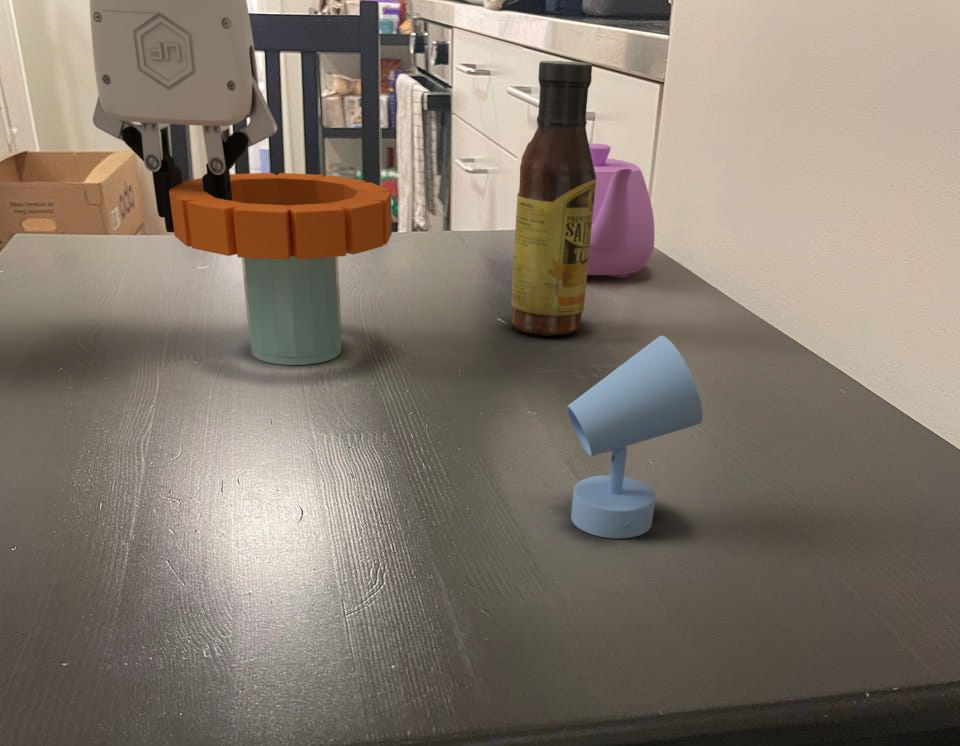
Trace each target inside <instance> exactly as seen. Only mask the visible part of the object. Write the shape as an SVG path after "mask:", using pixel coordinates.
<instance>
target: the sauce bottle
mask: <svg viewBox="0 0 960 746" xmlns="http://www.w3.org/2000/svg"><path fill="white" fill-rule="evenodd" d="M592 73H593V64H592V63H589V62H581V61H563V60H541V61H539V63H538V85H539V100H538V101H539V102H538V114H537V117H536V124H537V128H536V130H535V132H534V134H533V136H532V138H531V140H530V141H529V142H528V143H527V145H526V147H525V150H524V151H523V154H522V156H521V161H520V165H519V187H518V192H517V197H516V212H515V213H516V214H515V228H514V229H515V231H514V248H513V249H514V250H513V265H512V278H511V279H512V280H511V299H510V300H511V301H510V304H511V307H512V310H511V313H512V314H511V323H512V325H513V327H514V328H515V329H516V330H518V331H519V332H523V333H526V334H530V335H538V336H543V337H550V336H562V335H569V334H572V333H575V332H576V331H577V332H578V330H579V329H580V326H581V323H582V322H581V321H582V315H583V313H584V309H585V301H586V288H587V281H588V280H587V279H588V275H587V270H588V260H589V250H590V239H591V229H592V218H593V207H594V197H595V187H596V175H595V170H594V166H593V161H592V157H591V152H590V148H589V144H590V143H589V139H588V135H587V128H586V127H587V124H588V123H587V108H588V107H587V106H588V96H589V87H590V86H591V83H592V75H593V74H592Z"/></svg>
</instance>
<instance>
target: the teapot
mask: <svg viewBox="0 0 960 746" xmlns="http://www.w3.org/2000/svg"><path fill="white" fill-rule="evenodd" d="M611 147H612V146H610V145H608V144H604V143H589V148H590V152H591V157H592V161H593V166H594V170H595V175H596V187H595V197H594V207H593V218H592V229H591V239H590V250H589V260H588V270H587V276H608V277H612V278H619V279H621V278H627V277H629V274H635V273H638V272H640V271H641V270H642V269H643V267H644V266H645V265H646V264H647V262H649V259H650V258H651V256H652V254H653V252H654V247H655V218H654V211H653V206H652V202H651V198H650V195H649V191H648V188H647V184H646V180H645V177H644V175H643V172H642V170H641V168H640V167H639V166H638V165H636V164H634V163H632V162H629V161H626V160H621V159H616V158H608V157H609V154H610V152H611Z"/></svg>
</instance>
